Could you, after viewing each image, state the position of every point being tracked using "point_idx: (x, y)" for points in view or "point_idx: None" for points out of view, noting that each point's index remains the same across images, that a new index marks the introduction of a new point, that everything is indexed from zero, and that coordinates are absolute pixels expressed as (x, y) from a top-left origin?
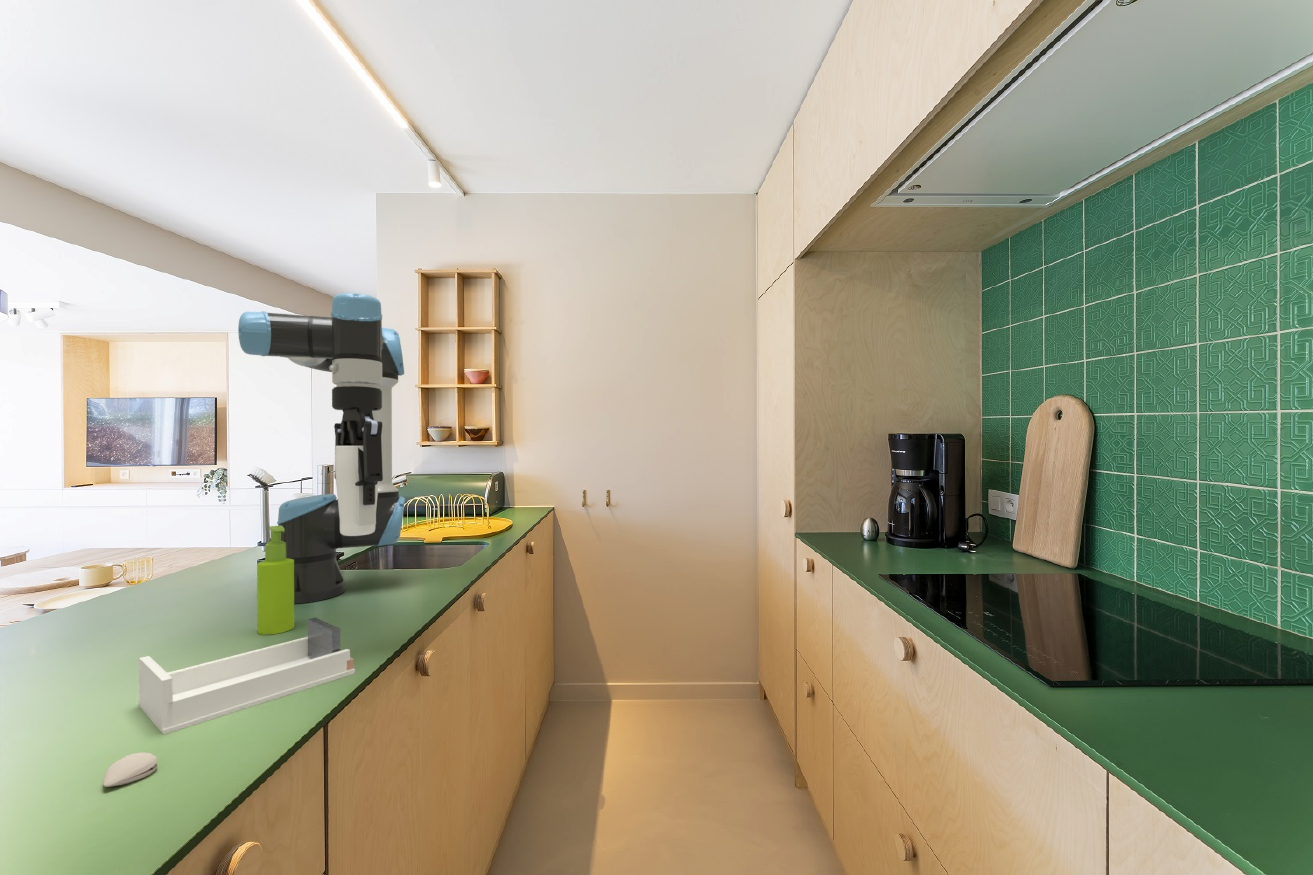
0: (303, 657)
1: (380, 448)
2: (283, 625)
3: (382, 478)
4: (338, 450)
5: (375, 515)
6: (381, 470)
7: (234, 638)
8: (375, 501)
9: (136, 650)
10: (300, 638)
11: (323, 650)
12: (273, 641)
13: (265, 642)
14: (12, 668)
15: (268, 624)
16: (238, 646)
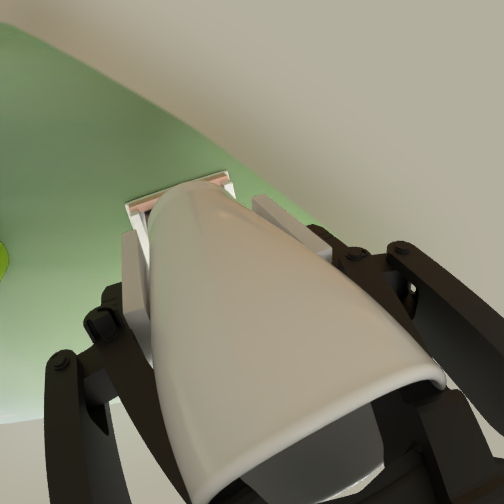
0: (144, 223)
1: (501, 322)
2: (2, 252)
3: (410, 244)
4: (331, 475)
5: (275, 203)
6: (433, 263)
7: (9, 296)
8: (298, 221)
9: (22, 366)
10: (138, 236)
11: None
12: (37, 256)
13: (37, 264)
14: (43, 417)
15: (4, 271)
16: (40, 290)
